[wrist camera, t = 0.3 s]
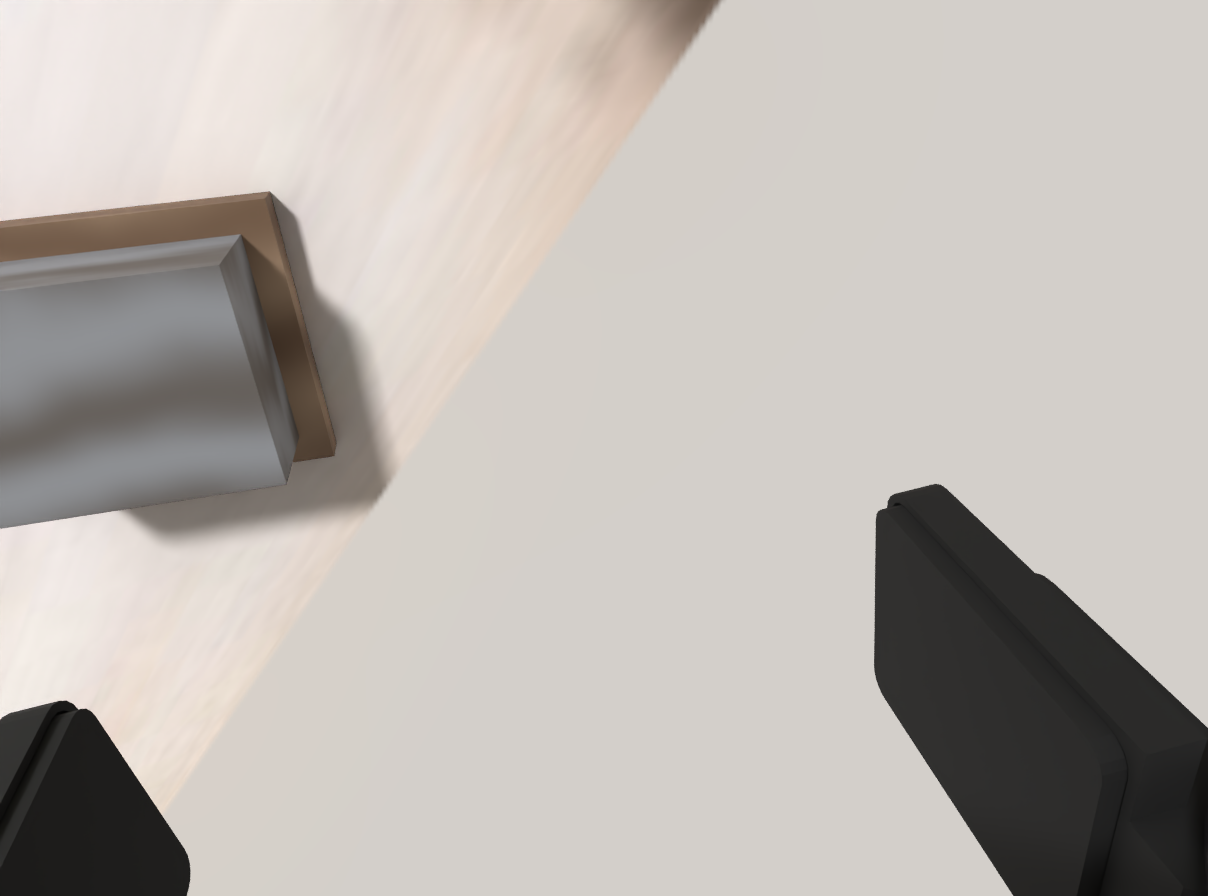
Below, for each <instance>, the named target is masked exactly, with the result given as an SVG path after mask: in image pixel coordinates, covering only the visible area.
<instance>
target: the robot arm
mask: <svg viewBox="0 0 1208 896" xmlns="http://www.w3.org/2000/svg"><path fill="white" fill-rule="evenodd" d="M875 562H876V563H875V646H874V650H875V651H874V652H875V653H874V668H875V675H876V680H877V682H878V686H879V688H880V690H881V693H882V695H883V696H884V698H885V700H886V701H887V703H888V704H889V706H890V707H891V709H892V710H893V712H894V713H895V715H896V716H897V718H898V720H899V721H900V723H901V724H902V726H903V727H904V729H905V730H906V732H907V733H908V735H909V736H910V738H911V739H912V741H913V742H914V744H915V746H916V747H917V749H918V750H919V752H920V753H921V755H922V756H923V758H924V759H925V761H926V763H927V764H928V766H929V767H930V769H931V770H932V772H933V773H934V775H935V776H936V778H937V779H938V781H939V782H940V784H941V785H942V787H943V788H944V790H945V792H946V793H947V795H948V796H949V798H950V799H951V801H952V802H953V804H954V805H955V807H956V808H957V810H958V812H959V813H960V815H961V816H962V818H963V819H964V821H965V822H966V824H967V825H968V827H969V828H970V830H971V831H972V833H973V835H974V836H975V837H976V839H977V841H978V842H979V844H980V845H981V847H982V848H983V850H984V851H985V853H986V854H987V856H988V858H989V859H990V861H991V862H992V864H993V865H994V867H995V868H996V870H997V871H998V873H999V874H1000V876H1001V877H1002V879H1003V880H1004V882H1005V884H1006V885H1007V887H1008V888H1009V890H1010V891H1011V893H1012V894H1013V896H1208V728H1207V727H1206V726H1205V725H1204V724H1203V723H1202V722H1201V721H1200V720H1199V719H1198V718H1197V717H1195V716H1194V715H1193V714H1192V713H1191V712H1190V711H1189V710H1188V709H1187V708H1186V707H1185V706H1184V705H1183V704H1182V703H1181V702H1179V700H1177V699H1176V698H1175V697H1174V696H1173V695H1172V694H1171V693H1170V692H1169V691H1168V690H1167V689H1166V688H1165V687H1163V686H1162V685H1161V684H1160V683H1159V682H1158V681H1157V680H1156V679H1155V678H1154V677H1153V676H1152V675H1151V674H1150V673H1149V672H1148V671H1147V670H1145V669H1144V668H1143V667H1142V666H1141V665H1140V664H1139V663H1138V662H1137V661H1136V660H1135V659H1134V658H1133V657H1132V656H1131V655H1130V654H1129V653H1127V652H1126V651H1125V650H1124V649H1123V648H1122V647H1121V646H1120V645H1119V644H1118V643H1117V642H1116V641H1115V640H1114V639H1112V637H1110V636H1109V635H1108V634H1107V633H1106V632H1105V631H1104V630H1103V629H1102V628H1101V627H1100V626H1099V625H1098V624H1097V623H1096V622H1094V621H1093V620H1092V619H1091V618H1090V617H1089V616H1088V615H1087V614H1086V613H1085V612H1084V611H1083V610H1082V609H1081V608H1080V607H1078V605H1076V604H1075V603H1074V602H1073V601H1072V600H1071V599H1070V598H1069V597H1068V596H1067V595H1066V594H1065V593H1064V592H1063V591H1062V590H1060V589H1059V588H1058V587H1057V586H1056V585H1055V584H1054V583H1053V582H1051V581H1050V580H1048V579H1047V578H1046V577H1045V576H1043V575H1040V574H1037V573H1034V572H1033V571H1032V570H1031V569H1030V568H1029V567H1028V566H1027V565H1026V564H1025V563H1024V562H1023V561H1021V559H1020V558H1018V557H1017V556H1016V555H1015V554H1014V553H1013V552H1012V551H1011V550H1010V549H1009V548H1008V547H1007V546H1006V545H1005V544H1004V543H1003V542H1002V541H1001V540H999V539H998V538H997V537H996V536H995V535H994V534H993V533H992V532H991V531H990V530H989V529H988V528H987V527H986V526H985V525H984V524H983V523H982V522H981V521H980V520H979V519H978V518H977V517H975V516H974V515H973V514H972V513H971V512H970V511H969V510H968V509H967V508H966V507H965V506H964V505H963V504H962V503H961V502H960V501H959V500H958V499H957V498H956V497H954V496H953V495H952V494H951V493H950V492H949V491H948V490H947V489H946V488H944V487H943V486H942V485H939V484H934V485H929V486H925V487H921V488H917V489H913V490H909V491H905V492H901V493H897V494H894V495H892V496H891V497H890V499H889V500H888V506H887V508H886V509H882V510H880V511H878V513H877V517H876V558H875ZM189 882H190V863H189V859H188V855H187V853H186V851H185V849H184V848H183V846H182V845H181V843H180V842H179V840H178V839H177V837H176V836H175V834H174V833H173V831H172V830H171V828H170V827H169V825H168V824H167V823H166V821H165V819H164V818H163V816H162V815H161V813H160V812H159V810H158V809H157V807H156V806H155V804H154V803H153V801H152V800H151V798H150V797H149V795H148V794H147V792H146V791H145V789H144V788H143V786H142V785H141V783H140V782H139V781H138V779H137V778H136V776H135V775H134V773H133V772H132V770H131V769H130V767H129V766H128V764H127V763H126V761H125V760H124V758H123V757H122V755H121V754H120V752H119V751H118V749H117V748H116V746H115V745H114V743H113V742H112V740H111V739H110V737H109V736H108V734H107V733H106V731H105V730H104V728H103V727H102V725H101V724H100V722H99V721H98V719H97V718H96V716H95V715H94V714H93V713H92V712H91V711H89V710H87V709H79V710H78V709H77V708H76V707H75V705H74V704H72V703H70V702H68V701H57V702H53V703H49V704H45V705H41V706H37V707H33V708H29V709H25V710H21V711H17V712H13V713H9V714H8V715H6V716H4V717H2V719H1V720H0V896H187V892H188V888H189Z"/></svg>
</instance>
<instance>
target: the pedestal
mask: <svg viewBox="0 0 1208 896" xmlns="http://www.w3.org/2000/svg"><path fill="white" fill-rule="evenodd" d="M335 448H336V440H335V436H334V432H333V428H332V425H331V421H330V417H329V413H328V409H327V406H326V402H325V398H324V394H323V391H322V387H321V383H320V379H319V375H318V372H317V368H316V364H315V360H314V357H313V353H312V349H311V345H310V341H309V338H308V334H307V330H306V326H305V322H304V319H303V315H302V311H301V307H300V304H299V300H298V296H297V292H296V288H295V285H294V281H293V277H292V273H291V270H290V266H289V262H288V258H287V254H286V251H285V247H284V243H283V239H282V235H281V232H280V228H279V224H278V220H277V217H276V213H275V209H274V205H273V201H272V198H271V194H270V192H262V193H253V194H244V195H234V196H225V197H216V198H207V199H198V200H189V201H180V202H171V203H162V204H153V205H144V206H135V207H126V208H116V209H107V210H98V211H89V212H80V213H71V214H62V215H53V216H44V217H35V218H26V219H17V220H8V221H0V528H8V527H14V526H21V525H27V524H34V523H40V522H47V521H53V520H59V519H66V518H72V517H79V516H85V515H92V514H98V513H105V512H111V511H118V510H124V509H131V508H137V507H143V506H150V505H156V504H163V503H169V502H176V501H182V500H189V499H195V498H202V497H208V496H215V495H221V494H227V493H234V492H240V491H247V490H253V489H260V488H266V487H273V486H279V485H286V484H287V481H288V477H289V473H290V469H291V466H292V462H298V461H305V460H311V459H318V458H325V457H331V456H334V454H335Z"/></svg>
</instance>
